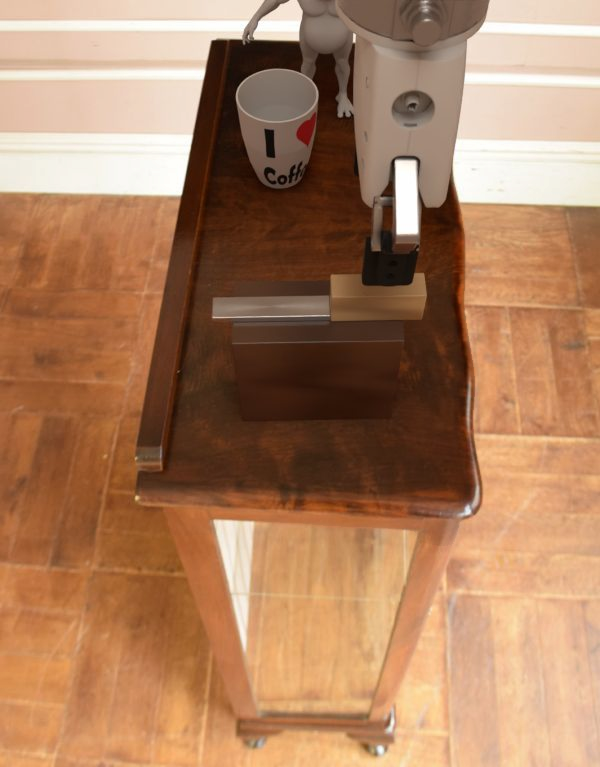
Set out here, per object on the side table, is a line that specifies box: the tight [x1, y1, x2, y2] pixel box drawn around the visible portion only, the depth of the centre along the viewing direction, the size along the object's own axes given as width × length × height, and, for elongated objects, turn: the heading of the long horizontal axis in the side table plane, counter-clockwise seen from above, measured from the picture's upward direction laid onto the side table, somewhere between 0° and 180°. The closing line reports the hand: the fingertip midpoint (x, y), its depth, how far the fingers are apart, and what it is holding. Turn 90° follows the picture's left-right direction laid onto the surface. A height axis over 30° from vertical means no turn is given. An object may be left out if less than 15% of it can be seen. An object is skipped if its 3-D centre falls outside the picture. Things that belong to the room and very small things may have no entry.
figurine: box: [241, 0, 354, 119], centre depth 82 cm, size 18×7×18 cm, turn 88°
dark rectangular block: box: [230, 279, 405, 422], centre depth 65 cm, size 13×6×12 cm, turn 91°
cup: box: [235, 68, 319, 190], centre depth 80 cm, size 8×8×10 cm
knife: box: [211, 272, 428, 323], centre depth 58 cm, size 16×2×3 cm, turn 91°
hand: (381, 225), depth 52 cm, fingers open, 9 cm apart
